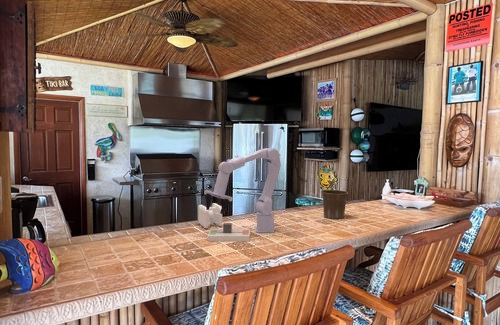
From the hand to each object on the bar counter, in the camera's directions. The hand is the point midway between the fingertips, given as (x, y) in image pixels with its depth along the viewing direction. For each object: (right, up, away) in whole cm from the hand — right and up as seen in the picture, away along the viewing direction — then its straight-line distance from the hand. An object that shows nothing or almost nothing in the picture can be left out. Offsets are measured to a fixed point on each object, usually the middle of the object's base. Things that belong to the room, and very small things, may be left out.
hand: (214, 211), depth 157 cm
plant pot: (+71, -10, +40) cm, 82 cm away
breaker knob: (+7, -10, -2) cm, 12 cm away
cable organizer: (-5, -11, +21) cm, 24 cm away
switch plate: (+8, -12, -2) cm, 15 cm away
